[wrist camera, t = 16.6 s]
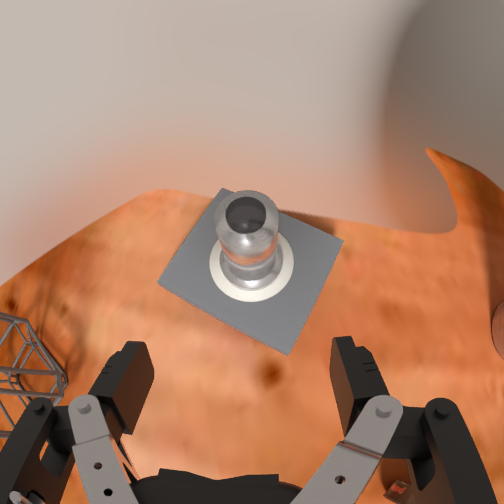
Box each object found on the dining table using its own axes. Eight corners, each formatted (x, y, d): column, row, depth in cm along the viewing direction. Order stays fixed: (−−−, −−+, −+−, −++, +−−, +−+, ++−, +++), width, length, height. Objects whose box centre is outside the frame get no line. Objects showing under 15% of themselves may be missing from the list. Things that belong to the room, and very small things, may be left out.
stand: (336, 256, 37) (344, 239, 33) (286, 358, 32) (288, 354, 28) (226, 206, 41) (221, 186, 37) (168, 293, 36) (155, 281, 32)
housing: (293, 249, 33) (301, 198, 24) (264, 302, 30) (262, 265, 22) (240, 224, 34) (231, 170, 26) (209, 273, 32) (188, 229, 23)
